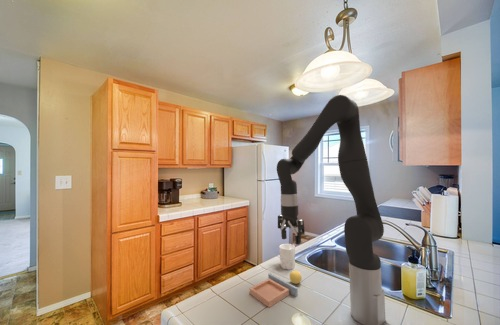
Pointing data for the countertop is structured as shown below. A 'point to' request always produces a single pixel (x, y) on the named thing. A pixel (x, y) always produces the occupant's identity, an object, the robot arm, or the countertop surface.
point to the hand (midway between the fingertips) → (290, 241)
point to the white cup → (287, 256)
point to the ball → (295, 277)
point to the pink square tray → (269, 292)
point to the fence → (284, 284)
